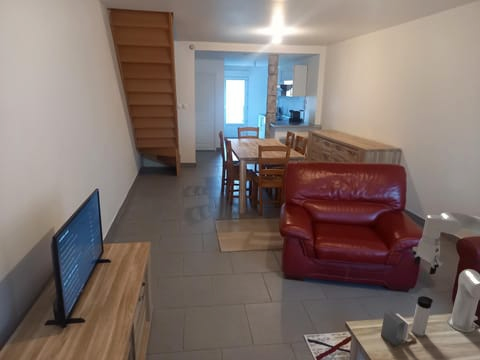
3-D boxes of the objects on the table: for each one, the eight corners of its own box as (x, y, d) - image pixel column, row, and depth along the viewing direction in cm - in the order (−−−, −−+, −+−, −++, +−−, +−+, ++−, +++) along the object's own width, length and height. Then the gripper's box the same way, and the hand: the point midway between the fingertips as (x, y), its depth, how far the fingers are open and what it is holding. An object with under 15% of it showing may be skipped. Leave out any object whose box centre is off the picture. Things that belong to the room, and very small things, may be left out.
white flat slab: (394, 330, 176) (397, 313, 174) (408, 342, 168) (412, 325, 166) (392, 330, 176) (395, 314, 173) (406, 343, 168) (410, 325, 165)
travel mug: (426, 337, 174) (434, 303, 168) (412, 335, 175) (420, 301, 169) (423, 329, 180) (430, 296, 174) (409, 327, 181) (416, 294, 175)
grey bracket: (401, 329, 179) (406, 306, 175) (416, 341, 171) (421, 317, 167) (380, 335, 174) (384, 312, 170) (394, 348, 166) (398, 323, 162)
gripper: (451, 245, 168) (444, 276, 173) (421, 230, 183) (416, 259, 188) (440, 247, 165) (433, 279, 170) (411, 232, 181) (405, 262, 186)
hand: (424, 269), depth 179 cm, fingers open, 9 cm apart
